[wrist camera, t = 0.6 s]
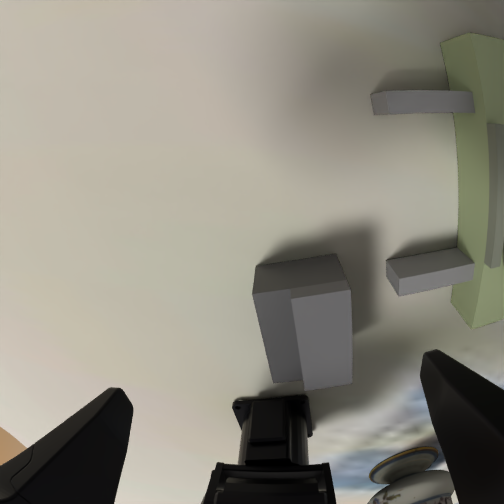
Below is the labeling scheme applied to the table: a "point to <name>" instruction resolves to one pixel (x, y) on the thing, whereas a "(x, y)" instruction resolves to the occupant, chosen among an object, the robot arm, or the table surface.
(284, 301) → the grey stepped block
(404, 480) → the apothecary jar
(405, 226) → the table surface
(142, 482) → the table surface
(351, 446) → the table surface
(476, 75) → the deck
